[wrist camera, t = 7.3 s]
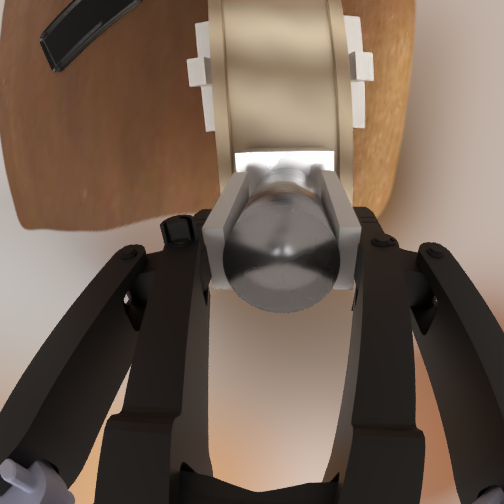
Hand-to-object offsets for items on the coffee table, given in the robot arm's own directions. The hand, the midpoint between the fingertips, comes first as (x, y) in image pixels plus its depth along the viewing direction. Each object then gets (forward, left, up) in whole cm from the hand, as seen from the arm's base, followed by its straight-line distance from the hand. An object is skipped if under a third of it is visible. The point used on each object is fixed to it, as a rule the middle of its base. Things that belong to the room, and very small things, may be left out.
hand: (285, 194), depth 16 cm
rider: (+2, 0, -6) cm, 6 cm away
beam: (-8, 0, -11) cm, 14 cm away
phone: (-20, -22, -16) cm, 33 cm away
